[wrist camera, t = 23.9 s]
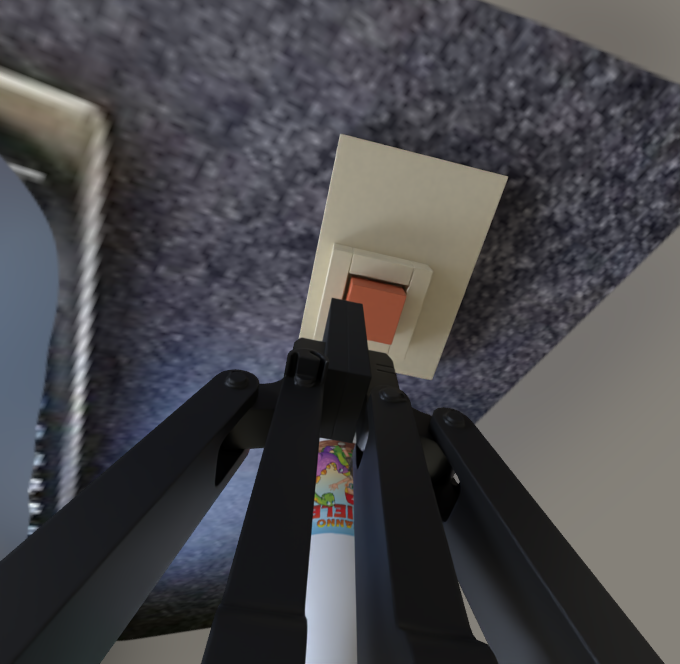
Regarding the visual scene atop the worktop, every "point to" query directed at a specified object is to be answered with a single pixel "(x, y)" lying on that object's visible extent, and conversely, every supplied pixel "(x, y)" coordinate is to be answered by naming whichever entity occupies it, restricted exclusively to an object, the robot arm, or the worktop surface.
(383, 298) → the red switch button
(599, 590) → the robot arm
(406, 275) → the light switch
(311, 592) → the milk bottle
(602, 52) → the worktop surface
